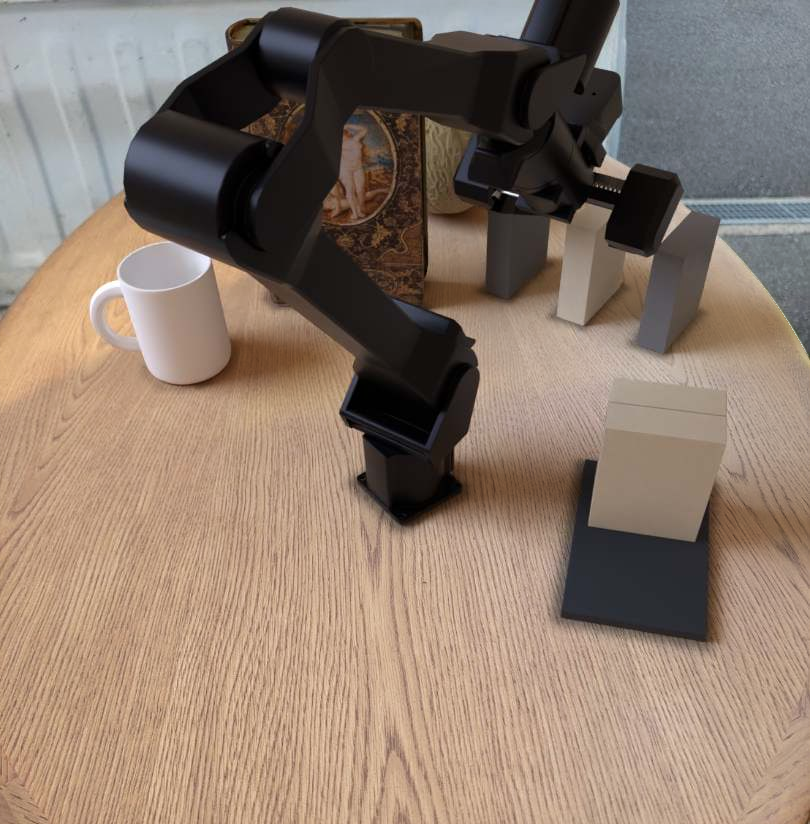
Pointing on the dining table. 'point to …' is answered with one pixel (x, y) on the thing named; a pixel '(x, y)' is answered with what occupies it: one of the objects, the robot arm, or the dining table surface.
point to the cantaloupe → (443, 167)
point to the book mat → (636, 577)
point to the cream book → (588, 266)
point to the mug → (168, 312)
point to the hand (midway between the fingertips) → (587, 223)
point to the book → (370, 179)
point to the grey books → (668, 283)
